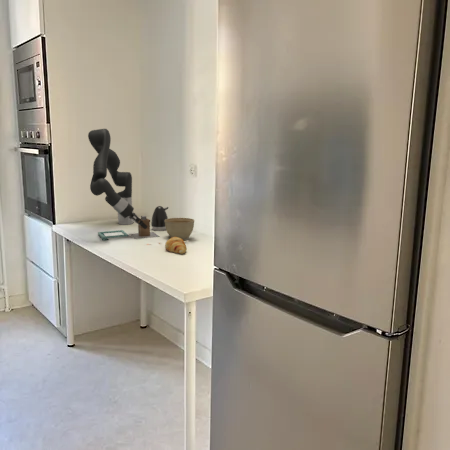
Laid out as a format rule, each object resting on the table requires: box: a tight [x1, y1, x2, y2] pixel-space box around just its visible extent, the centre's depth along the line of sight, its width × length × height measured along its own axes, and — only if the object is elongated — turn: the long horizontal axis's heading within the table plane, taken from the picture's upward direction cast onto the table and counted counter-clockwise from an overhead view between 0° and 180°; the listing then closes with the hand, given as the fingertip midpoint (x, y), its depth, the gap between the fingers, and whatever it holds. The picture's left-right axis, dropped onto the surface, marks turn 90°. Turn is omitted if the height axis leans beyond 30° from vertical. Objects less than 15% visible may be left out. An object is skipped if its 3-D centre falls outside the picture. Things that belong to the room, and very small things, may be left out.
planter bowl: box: [165, 217, 195, 242], centre depth 243 cm, size 16×16×11 cm
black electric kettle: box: [150, 205, 169, 232], centre depth 265 cm, size 10×10×15 cm
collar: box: [137, 217, 151, 237], centre depth 248 cm, size 5×6×9 cm
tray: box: [97, 229, 129, 241], centre depth 250 cm, size 14×14×2 cm
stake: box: [128, 215, 161, 240], centre depth 248 cm, size 14×14×12 cm
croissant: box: [164, 237, 188, 255], centre depth 220 cm, size 21×10×8 cm, turn 28°
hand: (144, 226), depth 248 cm, fingers open, 8 cm apart
